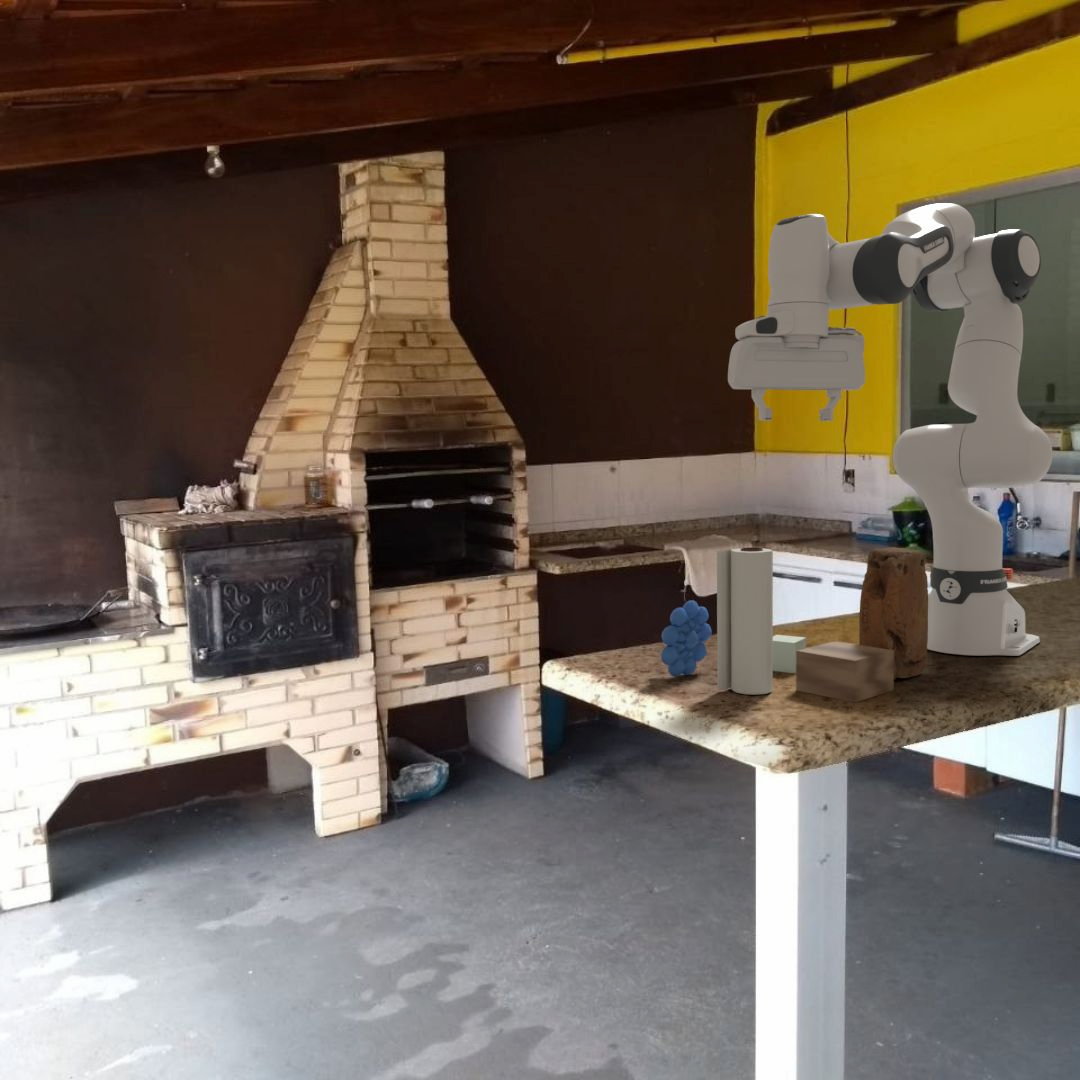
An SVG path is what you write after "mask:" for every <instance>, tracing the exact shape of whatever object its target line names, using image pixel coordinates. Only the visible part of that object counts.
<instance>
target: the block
mask: <svg viewBox="0 0 1080 1080" xmlns="http://www.w3.org/2000/svg"><path fill="white" fill-rule="evenodd" d="M866 562H867V564H866V565H867V566H866V572H865V574H864V576H863V577H864V579H863V580H862V587H861V592H860V599H859V613H858V614H859V616H858V618H859V619H858V621H859V623H858V624H859V628H858V631H859V632H858V633H859V634H858V637H859V638H858V639H859V641H858V642H859V643H858V645H863V646H870V647H876V648H882V649H889V650H894V680H896V679H897V678H899V679H908V678H911V677H916V676H918V675H921V674H922V673H923V672H924V671H925V669H926V665H927V655H928V649H927V643H928V594H929V590H928V589H929V588H928V586H929V585H928V584H929V583H928V575H927V573H926V562H927V558H926V555H925V553H924V552H923V551H922V550H919V549H908V548H903V547H895V546H894V547H893V546H891V547H890V546H889V547H885V548H882V547H876V548H873V549H871V550H869V552H868V556H867V561H866Z"/></svg>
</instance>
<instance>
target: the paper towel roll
mask: <svg viewBox="0 0 1080 1080" xmlns="http://www.w3.org/2000/svg"><path fill="white" fill-rule="evenodd" d="M773 555H774V554H773V549H770V548H761V547H742V548H740V547H739V548H732V549H731V548H729V549H726V550H716V603H717V604H716V628H717V629H716V635H717V636H716V642H717V643H716V647H717V648H716V649H717V653H716V654H717V655H716V656H717V657H716V658H717V659H716V660H717V663H716V664H717V668H716V669H717V670H716V671H717V675H716V676H717V678H716V679H717V680H716V681H717V691H718V692H719V691H724V690H728V689H730V688H731V691H733V692H734V693H737V694H742V695H749V696H750V695H755V696H756V695H766V694H769V693H772V691H773V689H774V688H773V682H774V681H773V680H774V679H773V678H774V677H773V674H774V671H773V636H774V635H773V634H774V633H773V628H774V627H773V624H774V622H773V618H774V617H773V612H774V611H773V608H774V607H773V606H774V605H773V604H774V603H773V601H774V598H773V596H774V594H773V593H774V592H773V587H774V585H773V583H774V582H773V579H774V578H773V577H774V575H773V574H774V573H773V571H774V570H773V565H774V563H773V562H774V561H773V559H774V557H773Z"/></svg>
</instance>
